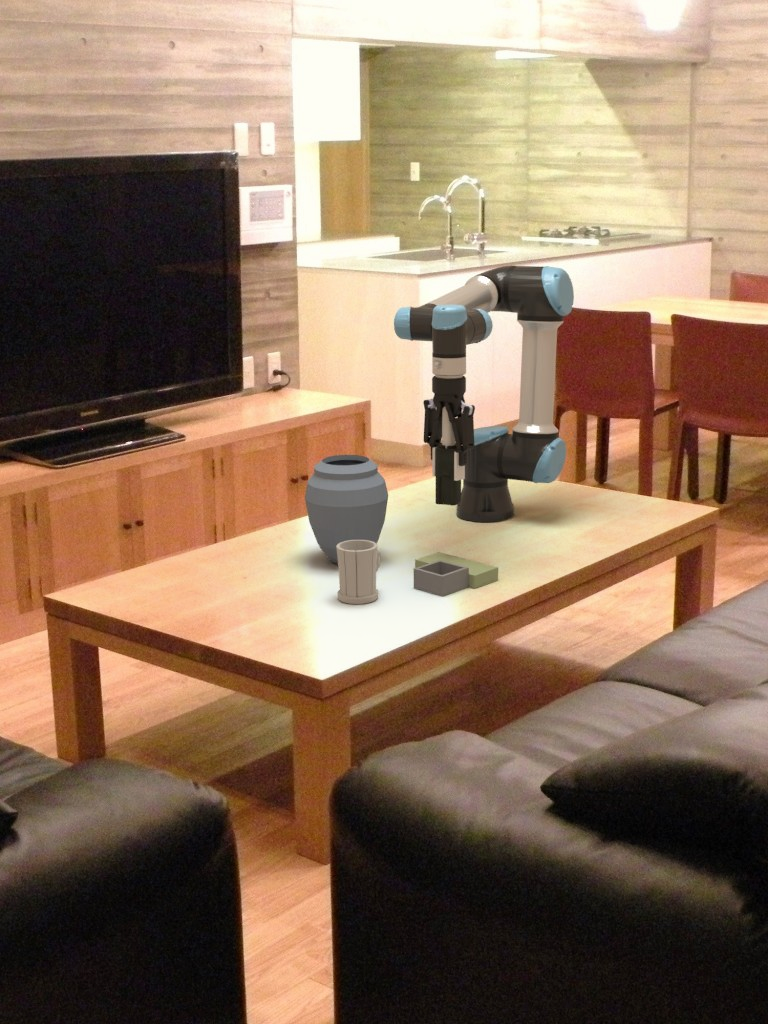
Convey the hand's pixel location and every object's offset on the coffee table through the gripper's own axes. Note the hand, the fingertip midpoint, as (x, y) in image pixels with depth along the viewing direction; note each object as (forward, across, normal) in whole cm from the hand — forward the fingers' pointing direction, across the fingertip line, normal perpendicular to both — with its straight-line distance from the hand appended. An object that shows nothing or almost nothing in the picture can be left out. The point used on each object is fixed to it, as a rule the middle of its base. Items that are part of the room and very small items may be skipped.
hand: (448, 477), depth 312 cm
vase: (+22, -23, -10) cm, 33 cm away
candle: (+6, 0, 0) cm, 6 cm away
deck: (+22, +4, -6) cm, 23 cm away
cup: (+23, -1, -27) cm, 35 cm away
